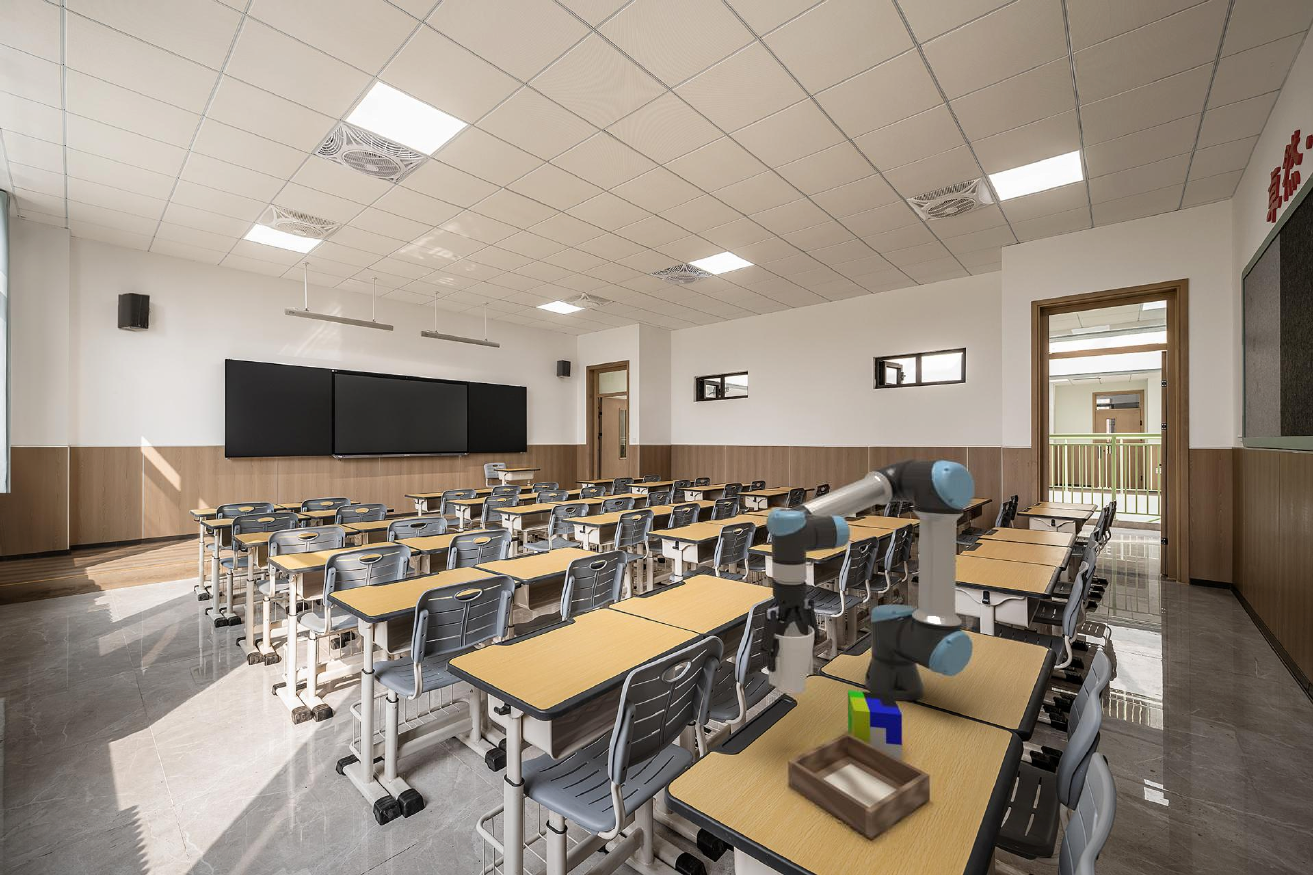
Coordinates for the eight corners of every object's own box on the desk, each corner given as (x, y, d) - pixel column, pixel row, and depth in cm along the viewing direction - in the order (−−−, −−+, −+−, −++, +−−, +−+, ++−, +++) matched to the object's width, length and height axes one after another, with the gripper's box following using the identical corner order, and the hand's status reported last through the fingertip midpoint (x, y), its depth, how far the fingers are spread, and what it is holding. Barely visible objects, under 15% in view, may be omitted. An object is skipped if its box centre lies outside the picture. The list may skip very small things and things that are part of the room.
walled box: (847, 754, 124) (846, 732, 124) (929, 800, 108) (929, 774, 108) (788, 785, 113) (788, 760, 113) (870, 840, 97) (870, 812, 97)
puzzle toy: (902, 760, 122) (901, 714, 122) (854, 755, 124) (854, 710, 124) (892, 736, 132) (892, 694, 132) (848, 731, 134) (847, 690, 134)
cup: (807, 703, 118) (806, 640, 118) (761, 692, 124) (759, 632, 123) (821, 684, 127) (820, 625, 127) (777, 674, 132) (775, 618, 132)
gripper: (809, 569, 135) (811, 660, 135) (740, 585, 122) (743, 686, 122) (835, 575, 128) (837, 670, 128) (765, 592, 116) (768, 699, 116)
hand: (791, 678), depth 125 cm, fingers closed on cup, 10 cm apart
